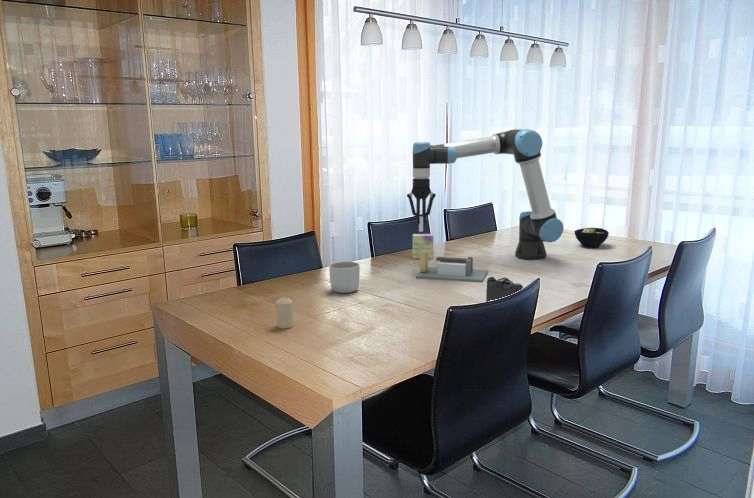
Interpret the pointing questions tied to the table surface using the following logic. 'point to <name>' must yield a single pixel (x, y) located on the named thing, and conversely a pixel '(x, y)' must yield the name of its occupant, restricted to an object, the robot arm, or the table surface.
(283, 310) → the candle
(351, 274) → the planter
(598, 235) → the bowl
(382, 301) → the table surface
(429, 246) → the box
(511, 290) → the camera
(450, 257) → the strap
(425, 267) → the notched wooden block
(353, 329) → the table surface
